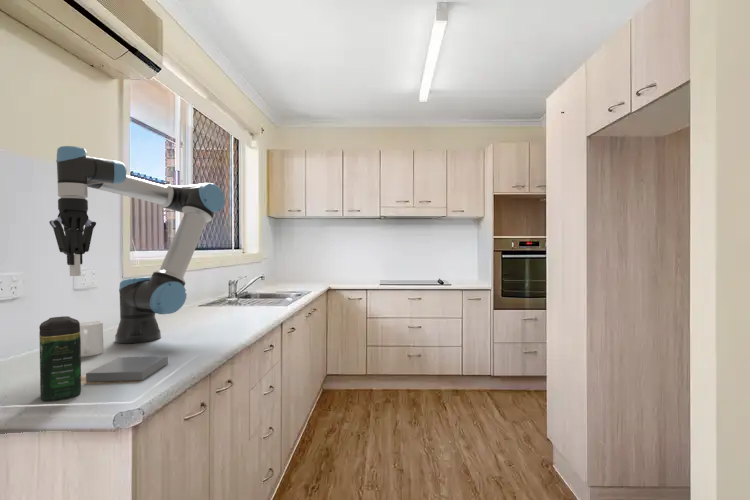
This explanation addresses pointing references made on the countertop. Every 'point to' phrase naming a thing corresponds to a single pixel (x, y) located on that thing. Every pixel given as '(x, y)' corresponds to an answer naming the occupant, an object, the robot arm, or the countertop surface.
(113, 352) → the countertop surface
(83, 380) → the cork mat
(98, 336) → the mug
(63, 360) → the coffee jar
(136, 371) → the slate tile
